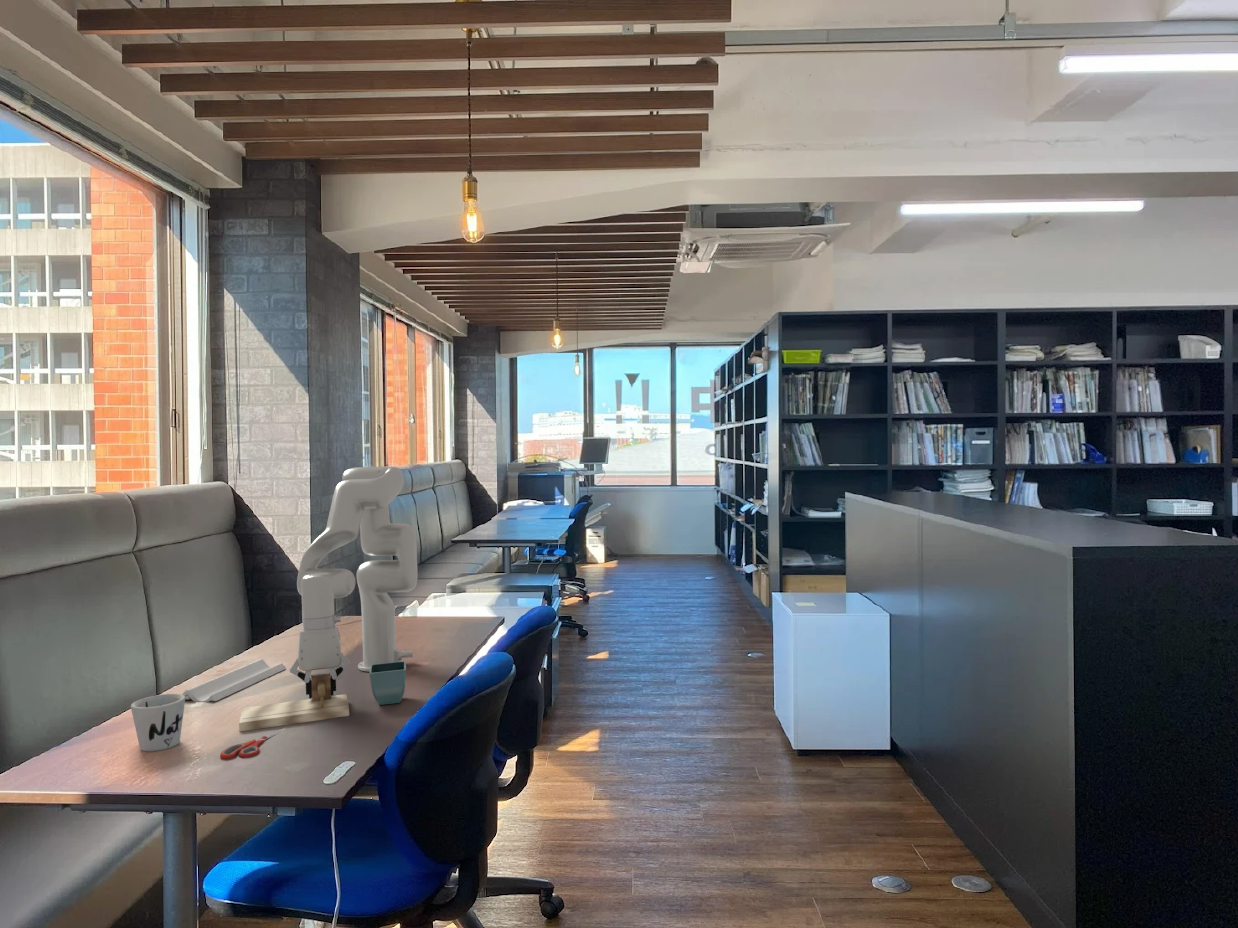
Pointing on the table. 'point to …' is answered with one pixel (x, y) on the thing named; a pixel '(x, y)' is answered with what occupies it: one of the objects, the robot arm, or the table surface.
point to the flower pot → (388, 682)
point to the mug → (158, 721)
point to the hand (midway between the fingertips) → (321, 694)
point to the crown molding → (231, 682)
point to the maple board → (292, 712)
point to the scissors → (246, 747)
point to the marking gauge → (321, 687)
